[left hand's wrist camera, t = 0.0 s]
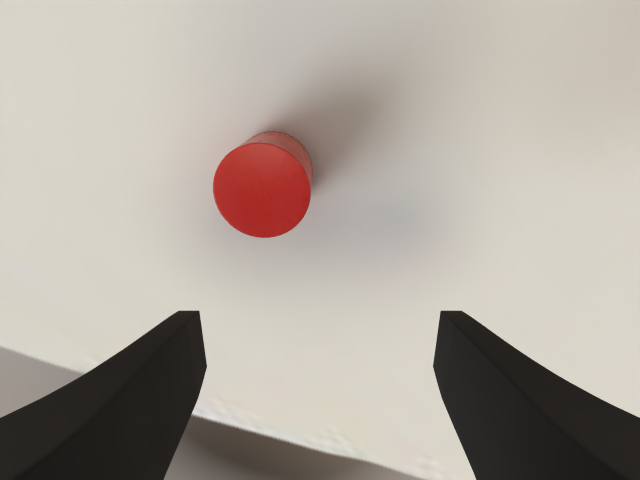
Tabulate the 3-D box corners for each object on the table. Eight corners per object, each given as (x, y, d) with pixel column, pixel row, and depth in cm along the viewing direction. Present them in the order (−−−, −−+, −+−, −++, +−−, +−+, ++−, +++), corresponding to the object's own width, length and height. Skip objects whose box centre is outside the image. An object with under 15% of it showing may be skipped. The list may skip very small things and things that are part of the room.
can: (219, 169, 19) (192, 189, 15) (274, 114, 18) (260, 120, 14) (274, 222, 21) (262, 256, 16) (328, 173, 20) (330, 195, 15)
